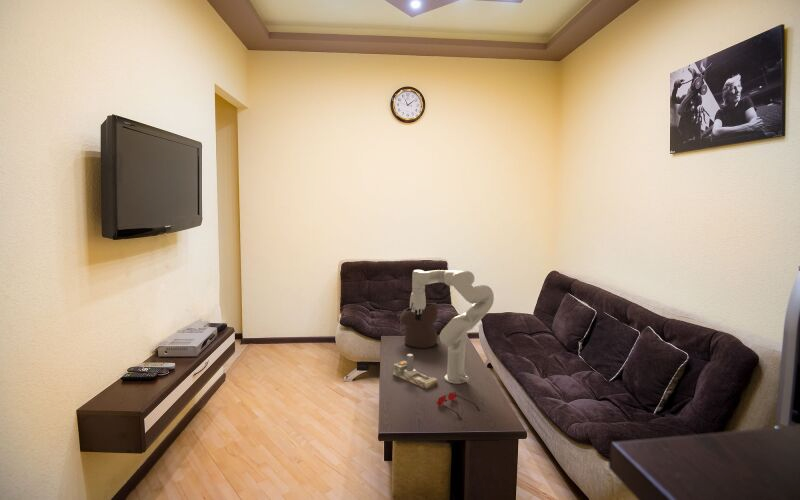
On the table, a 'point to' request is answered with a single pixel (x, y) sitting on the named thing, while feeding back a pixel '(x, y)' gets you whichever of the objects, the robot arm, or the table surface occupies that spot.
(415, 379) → the board
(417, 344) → the vase
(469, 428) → the table surface
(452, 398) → the glasses
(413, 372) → the carriage
